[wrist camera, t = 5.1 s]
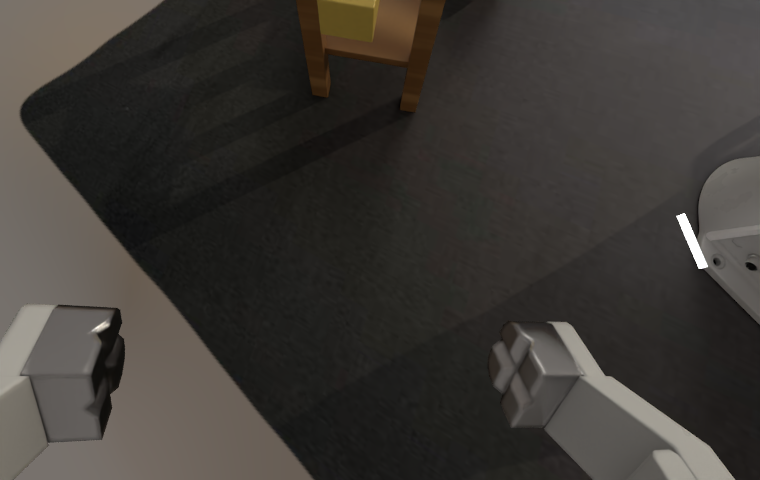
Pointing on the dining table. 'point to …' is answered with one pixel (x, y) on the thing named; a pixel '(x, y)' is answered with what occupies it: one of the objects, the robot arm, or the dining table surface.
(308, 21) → the wooden side table
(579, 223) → the dining table surface
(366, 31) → the yellow bar
